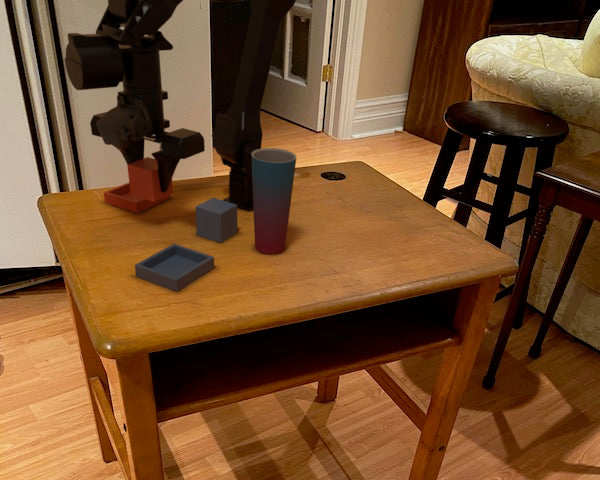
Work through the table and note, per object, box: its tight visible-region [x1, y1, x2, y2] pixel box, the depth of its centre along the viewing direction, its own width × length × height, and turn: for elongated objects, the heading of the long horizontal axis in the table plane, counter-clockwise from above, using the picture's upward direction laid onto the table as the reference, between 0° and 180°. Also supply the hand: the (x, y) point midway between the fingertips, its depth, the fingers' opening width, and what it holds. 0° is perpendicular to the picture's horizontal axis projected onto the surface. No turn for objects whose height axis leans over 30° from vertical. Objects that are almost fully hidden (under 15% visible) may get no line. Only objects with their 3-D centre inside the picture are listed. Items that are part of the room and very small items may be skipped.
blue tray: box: [134, 243, 215, 293], centre depth 88 cm, size 9×8×2 cm
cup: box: [251, 147, 297, 255], centre depth 93 cm, size 7×7×15 cm
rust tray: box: [103, 182, 171, 214], centre depth 108 cm, size 9×8×2 cm
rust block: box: [126, 156, 174, 202], centre depth 97 cm, size 5×5×5 cm
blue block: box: [195, 197, 238, 244], centre depth 99 cm, size 5×5×5 cm
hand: (151, 188), depth 98 cm, fingers closed on rust block, 5 cm apart
